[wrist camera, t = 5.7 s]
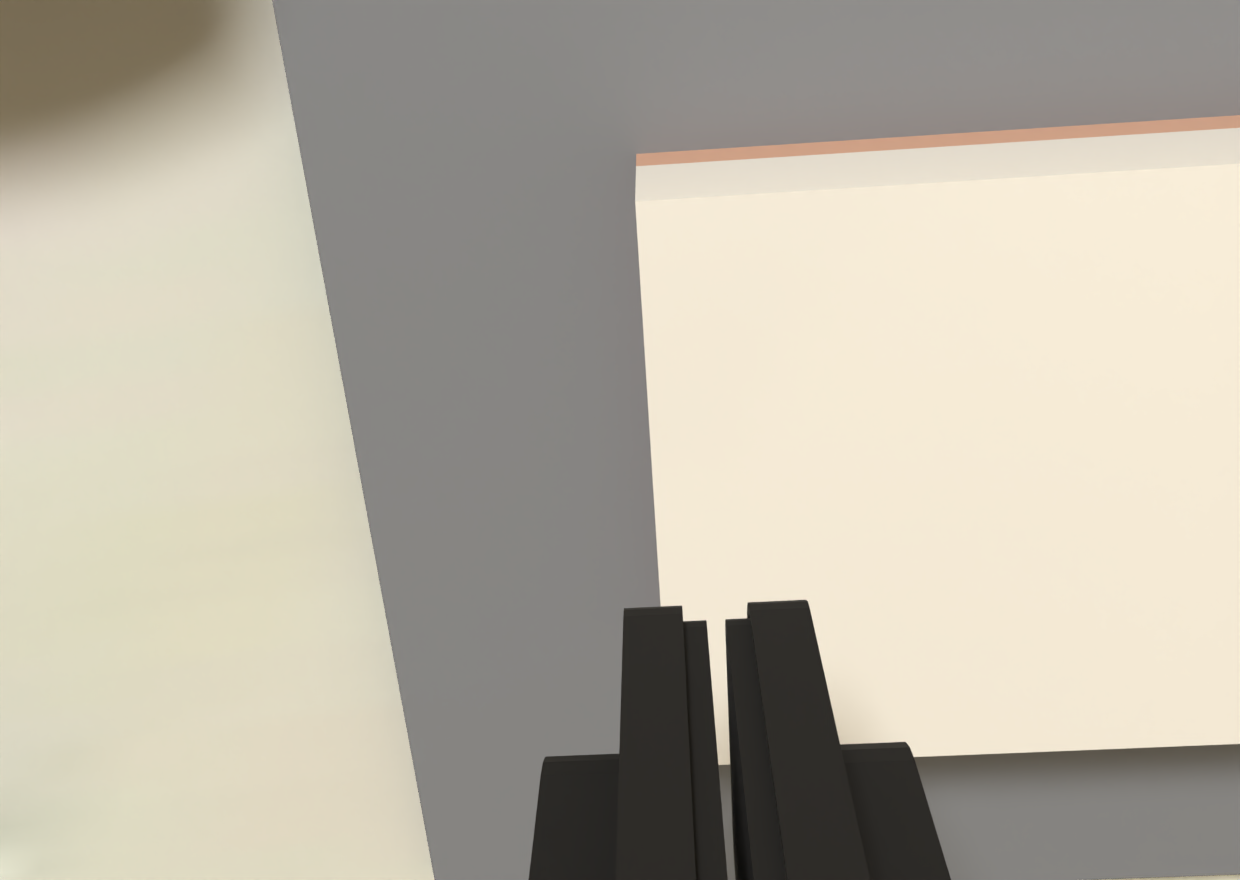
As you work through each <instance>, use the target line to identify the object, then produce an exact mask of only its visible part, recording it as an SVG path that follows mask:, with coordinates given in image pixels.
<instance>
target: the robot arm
mask: <svg viewBox="0 0 1240 880" xmlns="http://www.w3.org/2000/svg"><path fill="white" fill-rule="evenodd" d="M725 636H726V664H727V691H728V719H729V746H730V774H731V801H732V829H733V851H734V867H735V880H951V878H950V875H949V871H948V868H947V865H946V861H945V858H944V855H943V851H942V848H941V845H940V841H939V838H938V835H937V832H936V828H935V825H934V822H933V818H932V815H931V812H930V808H929V805H928V802H927V799H926V795H925V792H924V789H923V785H922V782H921V779H920V775H919V772H918V769H917V765H916V762H915V759H914V757H913V754H912V751H911V749H910V747H909V745H908V744H907V743H906V742H887V743H863V744H840V742H839V737H838V733H837V728H836V724H835V719H834V715H833V710H832V706H831V701H830V697H829V692H828V688H827V683H826V679H825V674H824V670H823V665H822V661H821V656H820V652H819V647H818V643H817V638H816V634H815V629H814V625H813V620H812V616H811V611H810V607H809V604H808V601H807V600H788V601H767V602H748V604H747V618H743V619H725ZM529 880H728V877H727V864H726V852H725V840H724V828H723V815H722V803H721V791H720V779H719V766H718V754H717V742H716V730H715V718H714V705H713V693H712V681H711V669H710V656H709V644H708V632H707V621H706V620H699V621H683V610H682V605H681V606H660V607H639V608H624V613H623V644H622V678H621V712H620V746H619V754H595V755H571V756H547V757H545V759H544V761H543V764H542V770H541V776H540V785H539V794H538V802H537V811H536V820H535V828H534V837H533V846H532V854H531V863H530V872H529Z"/></svg>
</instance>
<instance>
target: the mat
mask: <svg viewBox="0 0 1240 880" xmlns="http://www.w3.org/2000/svg"><path fill="white" fill-rule="evenodd" d="M272 1H273V7H274V12H275V17H276V23H277V28H278V34H279V39H280V45H281V50H282V55H283V61H284V66H285V72H286V77H287V82H288V88H289V93H290V99H291V104H292V110H293V115H294V120H295V126H296V131H297V137H298V142H299V147H300V153H301V158H302V164H303V169H304V175H305V180H306V185H307V191H308V196H309V202H310V207H311V212H312V218H313V223H314V229H315V234H316V240H317V245H318V250H319V256H320V261H321V267H322V272H323V277H324V283H325V288H326V294H327V299H328V305H329V310H330V315H331V321H332V326H333V332H334V337H335V342H336V348H337V353H338V359H339V364H340V370H341V375H342V380H343V386H344V391H345V397H346V402H347V407H348V413H349V418H350V424H351V429H352V434H353V440H354V445H355V451H356V456H357V462H358V467H359V472H360V478H361V483H362V489H363V494H364V499H365V505H366V510H367V516H368V521H369V527H370V532H371V537H372V543H373V548H374V554H375V559H376V564H377V570H378V575H379V581H380V586H381V592H382V597H383V602H384V608H385V613H386V619H387V624H388V629H389V635H390V640H391V646H392V651H393V657H394V662H395V667H396V673H397V678H398V684H399V689H400V694H401V700H402V705H403V711H404V716H405V722H406V727H407V732H408V738H409V743H410V749H411V754H412V759H413V765H414V770H415V776H416V781H417V787H418V792H419V797H420V803H421V808H422V814H423V819H424V824H425V830H426V835H427V841H428V846H429V852H430V857H431V862H432V868H433V873H434V879H435V880H529V872H530V863H531V854H532V846H533V837H534V828H535V820H536V811H537V802H538V794H539V785H540V776H541V770H542V764H543V761H544V759H545V757H547V756H571V755H595V754H619V746H620V712H621V678H622V644H623V613H624V608H639V607H660V606H661V604H660V588H659V572H658V557H657V541H656V525H655V509H654V493H653V477H652V461H651V445H650V429H649V413H648V398H647V382H646V366H645V350H644V334H643V318H642V302H641V286H640V270H639V255H638V239H637V223H636V207H635V187H636V154H643V153H659V152H674V151H690V150H705V149H721V148H736V147H752V146H768V145H783V144H799V143H814V142H830V141H845V140H861V139H876V138H892V137H908V136H923V135H939V134H954V133H970V132H985V131H1001V130H1016V129H1032V128H1047V127H1063V126H1079V125H1094V124H1110V123H1125V122H1141V121H1156V120H1172V119H1187V118H1203V117H1219V116H1234V115H1240V0H272ZM914 759H915V762H916V765H917V769H918V772H919V775H920V779H921V782H922V785H923V789H924V792H925V795H926V799H927V802H928V805H929V808H930V812H931V815H932V818H933V822H934V825H935V828H936V832H937V835H938V838H939V841H940V845H941V848H942V851H943V855H944V858H945V861H946V865H947V868H948V871H949V875H950V878H951V880H1095V879H1123V878H1151V877H1180V876H1208V875H1236V874H1240V744H1224V745H1200V746H1175V747H1150V748H1125V749H1101V750H1076V751H1051V752H1027V753H1002V754H977V755H953V756H928V757H914ZM718 766H719V779H720V791H721V803H722V815H723V828H724V840H725V852H726V864H727V877H728V880H735V867H734V851H733V829H732V801H731V774H730V765H718Z"/></svg>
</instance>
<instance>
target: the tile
mask: <svg viewBox="0 0 1240 880" xmlns="http://www.w3.org/2000/svg"><path fill="white" fill-rule="evenodd" d="M635 207H636V223H637V239H638V255H639V270H640V286H641V302H642V318H643V334H644V350H645V366H646V382H647V398H648V413H649V429H650V445H651V461H652V477H653V493H654V509H655V525H656V541H657V557H658V572H659V588H660V604H661V606H681V605H682V610H683V621H699V620H706V621H707V632H708V644H709V656H710V669H711V681H712V693H713V705H714V718H715V730H716V742H717V754H718V765H730V746H729V719H728V691H727V664H726V636H725V619H743V618H747V604H748V602H767V601H788V600H807V601H808V604H809V607H810V611H811V616H812V620H813V625H814V629H815V634H816V638H817V643H818V647H819V652H820V656H821V661H822V665H823V670H824V674H825V679H826V683H827V688H828V692H829V697H830V701H831V706H832V710H833V715H834V719H835V724H836V728H837V733H838V737H839V742H840V744H863V743H887V742H906V743H907V744H908V745H909V747H910V749H911V751H912V754H913V757H928V756H953V755H977V754H1002V753H1027V752H1051V751H1076V750H1101V749H1125V748H1150V747H1175V746H1200V745H1224V744H1240V115H1234V116H1219V117H1203V118H1187V119H1172V120H1156V121H1141V122H1125V123H1110V124H1094V125H1079V126H1063V127H1047V128H1032V129H1016V130H1001V131H985V132H970V133H954V134H939V135H923V136H908V137H892V138H876V139H861V140H845V141H830V142H814V143H799V144H783V145H768V146H752V147H736V148H721V149H705V150H690V151H674V152H659V153H643V154H636V187H635Z"/></svg>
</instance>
